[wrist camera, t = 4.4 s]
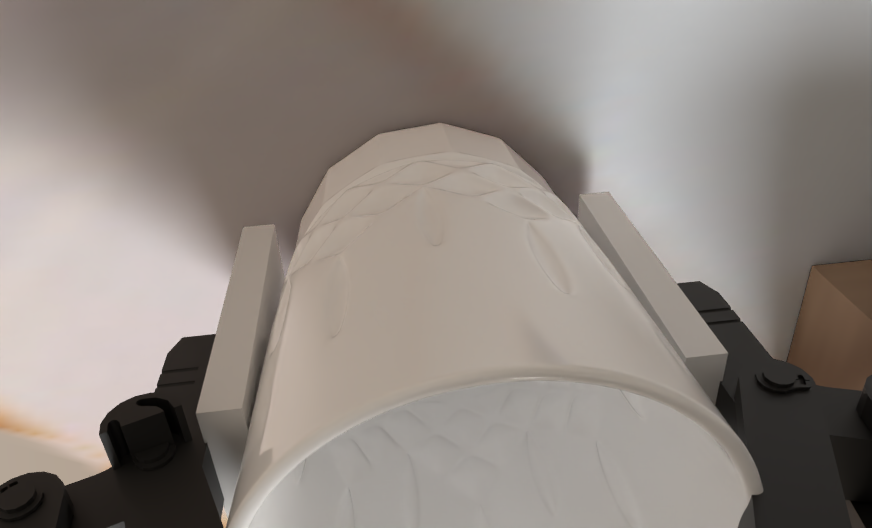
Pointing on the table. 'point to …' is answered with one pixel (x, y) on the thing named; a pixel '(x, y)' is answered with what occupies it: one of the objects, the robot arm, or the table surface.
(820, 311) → the shelf
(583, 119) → the table surface
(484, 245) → the white cup
